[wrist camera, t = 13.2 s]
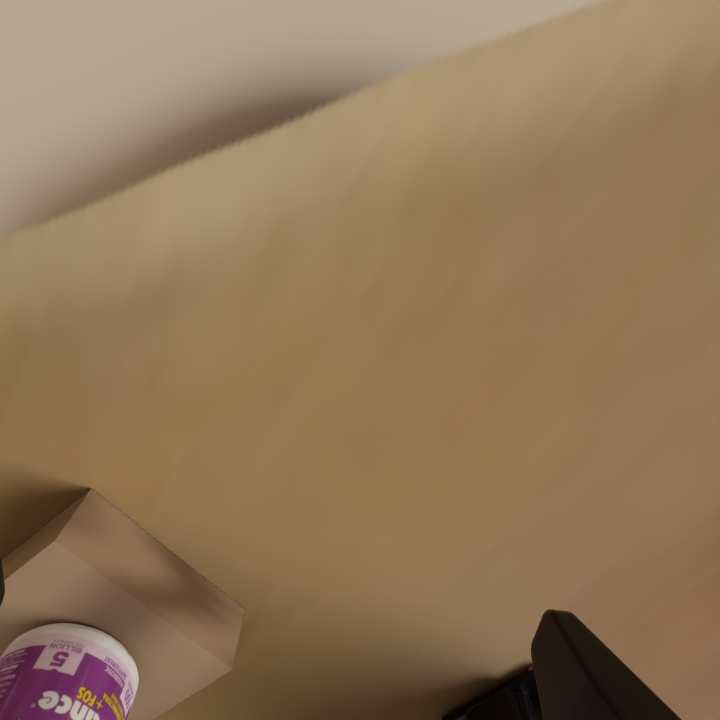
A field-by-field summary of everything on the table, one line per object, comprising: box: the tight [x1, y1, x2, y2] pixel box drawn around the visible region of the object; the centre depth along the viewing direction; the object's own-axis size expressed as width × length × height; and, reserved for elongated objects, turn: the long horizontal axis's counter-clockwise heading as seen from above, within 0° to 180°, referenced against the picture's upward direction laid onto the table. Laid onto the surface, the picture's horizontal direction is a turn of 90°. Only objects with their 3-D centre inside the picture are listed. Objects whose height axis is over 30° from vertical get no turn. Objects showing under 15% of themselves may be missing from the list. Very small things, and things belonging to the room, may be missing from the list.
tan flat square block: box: [0, 489, 244, 720], centre depth 23 cm, size 9×9×3 cm
